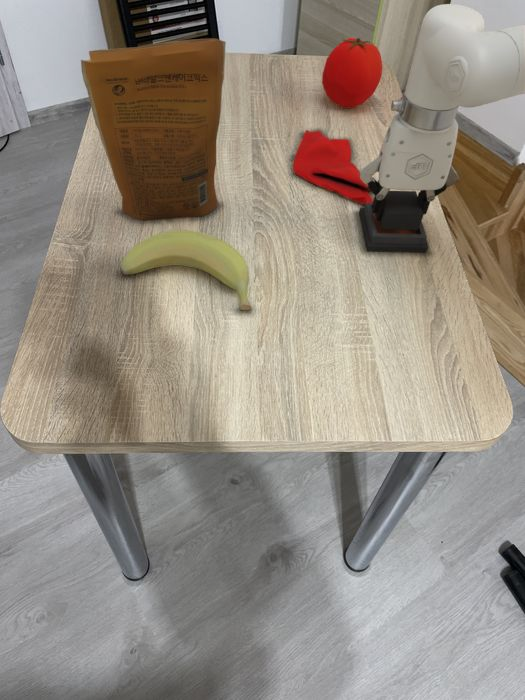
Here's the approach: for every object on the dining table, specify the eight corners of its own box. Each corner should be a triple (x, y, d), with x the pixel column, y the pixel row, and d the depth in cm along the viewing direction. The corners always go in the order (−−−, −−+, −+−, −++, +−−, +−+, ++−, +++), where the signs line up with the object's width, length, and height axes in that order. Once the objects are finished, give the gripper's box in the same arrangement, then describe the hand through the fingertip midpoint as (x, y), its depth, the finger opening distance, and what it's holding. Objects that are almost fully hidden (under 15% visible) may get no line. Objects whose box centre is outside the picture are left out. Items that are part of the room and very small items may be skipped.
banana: (177, 199, 83) (274, 273, 77) (183, 221, 88) (275, 292, 82) (111, 257, 79) (208, 339, 73) (121, 276, 84) (213, 354, 79)
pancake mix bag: (229, 221, 91) (229, 46, 69) (114, 229, 89) (75, 51, 67) (224, 197, 95) (222, 24, 73) (114, 204, 93) (78, 27, 71)
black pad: (411, 207, 91) (416, 191, 88) (417, 230, 87) (423, 214, 85) (375, 206, 91) (379, 190, 88) (381, 229, 87) (385, 213, 84)
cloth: (279, 133, 109) (280, 123, 107) (344, 130, 111) (346, 119, 109) (309, 214, 93) (311, 204, 92) (384, 208, 95) (387, 198, 94)
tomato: (315, 91, 121) (323, 26, 110) (368, 90, 122) (381, 27, 111) (323, 118, 114) (333, 52, 103) (380, 117, 115) (395, 52, 104)
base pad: (415, 214, 95) (419, 201, 93) (426, 252, 89) (431, 240, 86) (358, 212, 94) (361, 200, 92) (366, 251, 88) (369, 238, 86)
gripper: (370, 122, 72) (347, 229, 86) (497, 126, 73) (454, 232, 87) (363, 94, 76) (342, 200, 91) (482, 98, 77) (443, 203, 91)
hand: (397, 215), depth 88 cm, fingers closed on black pad, 5 cm apart
